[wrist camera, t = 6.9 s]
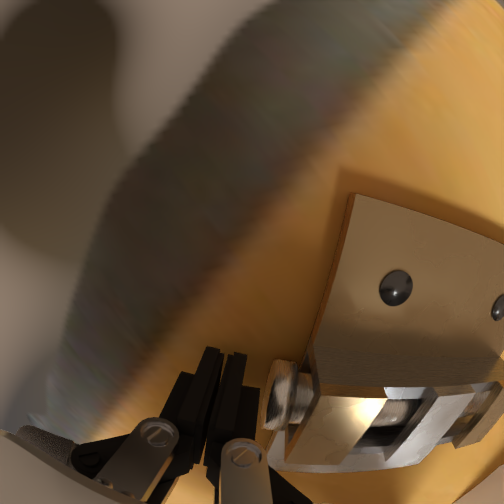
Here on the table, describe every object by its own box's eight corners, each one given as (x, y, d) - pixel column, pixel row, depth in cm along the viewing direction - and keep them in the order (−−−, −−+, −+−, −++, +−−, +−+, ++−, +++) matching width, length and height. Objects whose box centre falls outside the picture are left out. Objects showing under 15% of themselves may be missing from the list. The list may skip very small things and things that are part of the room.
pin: (462, 398, 11) (481, 428, 8) (262, 393, 12) (258, 442, 9) (486, 360, 10) (510, 389, 8) (277, 344, 11) (276, 394, 8)
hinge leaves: (415, 456, 13) (427, 490, 10) (260, 459, 14) (256, 504, 10) (529, 256, 9) (571, 277, 5) (349, 192, 9) (388, 201, 6)
